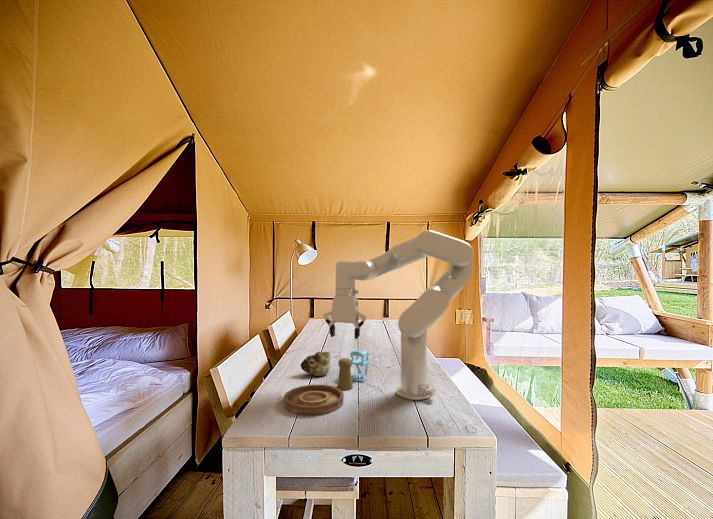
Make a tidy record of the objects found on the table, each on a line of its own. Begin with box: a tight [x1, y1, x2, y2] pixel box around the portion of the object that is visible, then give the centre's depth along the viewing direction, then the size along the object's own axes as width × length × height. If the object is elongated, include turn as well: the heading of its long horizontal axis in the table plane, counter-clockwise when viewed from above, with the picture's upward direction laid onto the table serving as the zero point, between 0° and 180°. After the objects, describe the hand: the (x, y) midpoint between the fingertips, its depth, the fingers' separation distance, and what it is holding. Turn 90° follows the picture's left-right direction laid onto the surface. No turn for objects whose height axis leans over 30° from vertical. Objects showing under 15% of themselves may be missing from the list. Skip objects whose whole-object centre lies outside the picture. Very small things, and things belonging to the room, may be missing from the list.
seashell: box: [300, 351, 332, 377], centre depth 143 cm, size 11×11×10 cm
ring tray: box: [283, 384, 344, 416], centre depth 114 cm, size 20×20×2 cm
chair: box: [349, 349, 371, 383], centre depth 139 cm, size 8×8×12 cm
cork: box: [336, 357, 354, 392], centre depth 128 cm, size 6×6×11 cm
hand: (344, 337), depth 128 cm, fingers open, 9 cm apart
